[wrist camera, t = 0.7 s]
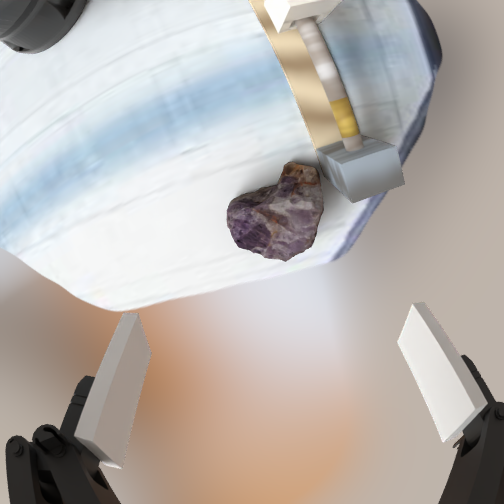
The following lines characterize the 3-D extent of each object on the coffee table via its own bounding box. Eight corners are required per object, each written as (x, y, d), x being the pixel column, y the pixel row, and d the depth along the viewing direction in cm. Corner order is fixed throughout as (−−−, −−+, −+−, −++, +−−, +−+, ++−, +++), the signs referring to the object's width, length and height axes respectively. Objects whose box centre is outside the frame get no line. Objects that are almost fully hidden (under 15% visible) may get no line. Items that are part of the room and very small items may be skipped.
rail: (234, -24, 23) (230, -66, 13) (278, -36, 22) (289, -78, 12) (324, 176, 36) (352, 203, 26) (365, 162, 35) (404, 184, 25)
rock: (226, 185, 38) (257, 248, 42) (209, 208, 30) (248, 283, 34) (310, 152, 34) (336, 222, 38) (315, 168, 27) (345, 253, 31)
